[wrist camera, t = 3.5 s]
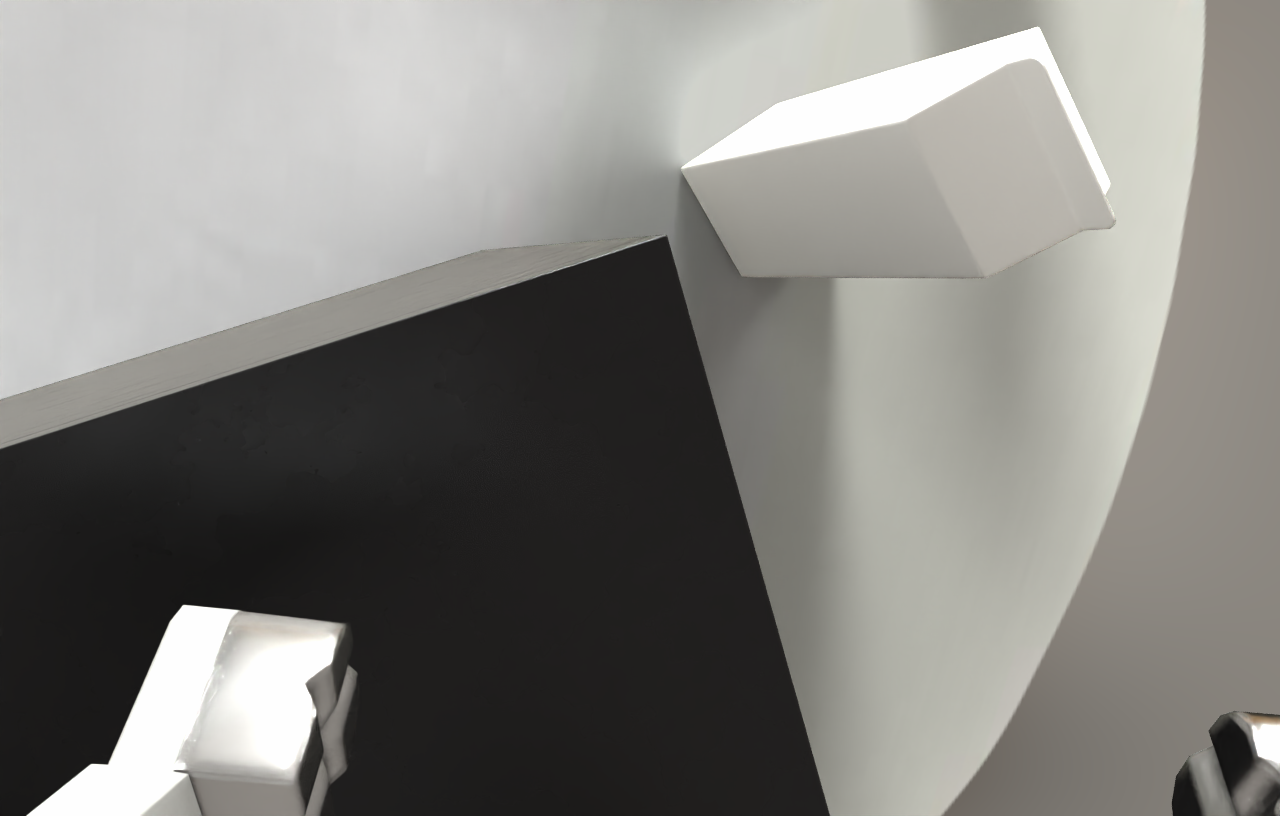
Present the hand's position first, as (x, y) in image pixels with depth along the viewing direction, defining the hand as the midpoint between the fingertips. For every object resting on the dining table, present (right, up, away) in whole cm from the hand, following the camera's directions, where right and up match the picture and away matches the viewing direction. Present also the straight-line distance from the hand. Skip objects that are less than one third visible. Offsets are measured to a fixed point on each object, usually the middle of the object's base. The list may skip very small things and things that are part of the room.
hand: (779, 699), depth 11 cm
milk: (+4, +13, +45) cm, 47 cm away
